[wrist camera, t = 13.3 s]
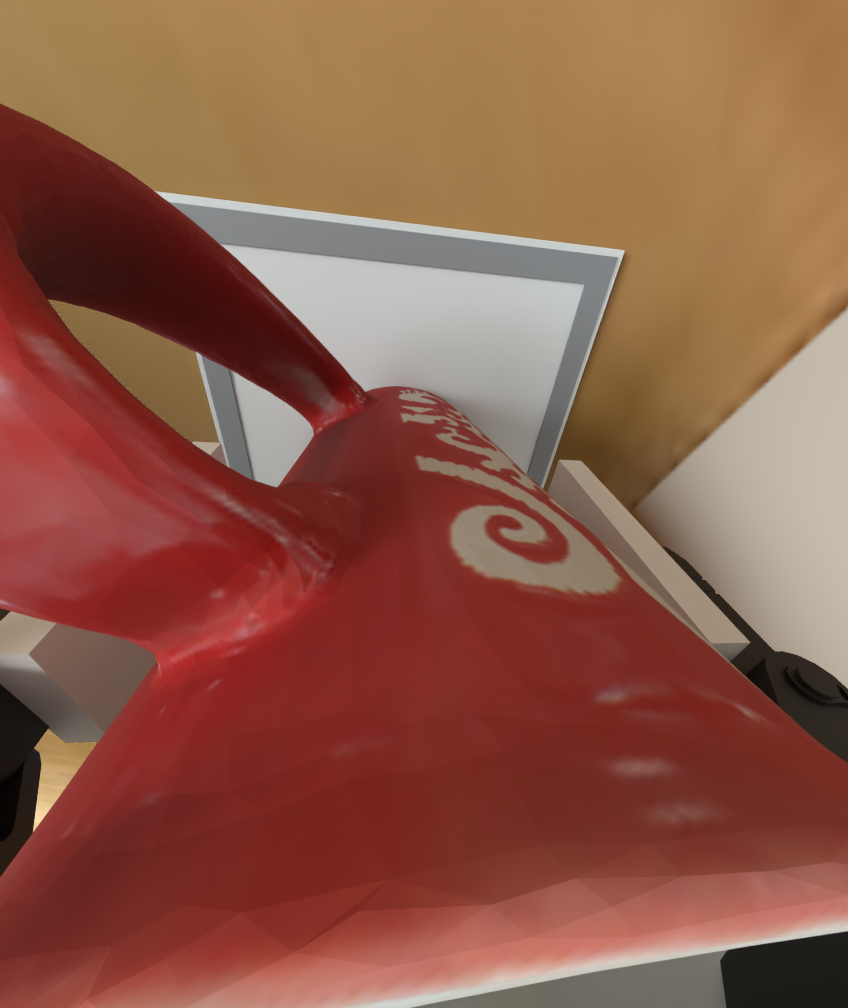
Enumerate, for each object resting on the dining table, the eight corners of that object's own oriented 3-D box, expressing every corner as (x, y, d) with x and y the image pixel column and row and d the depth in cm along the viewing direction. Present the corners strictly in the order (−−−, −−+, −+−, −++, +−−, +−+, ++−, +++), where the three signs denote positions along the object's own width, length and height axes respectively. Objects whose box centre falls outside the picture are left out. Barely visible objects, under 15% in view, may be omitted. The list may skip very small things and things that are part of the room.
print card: (252, 555, 18) (249, 561, 17) (159, 192, 10) (150, 190, 10) (516, 559, 19) (518, 564, 19) (619, 250, 11) (626, 250, 11)
